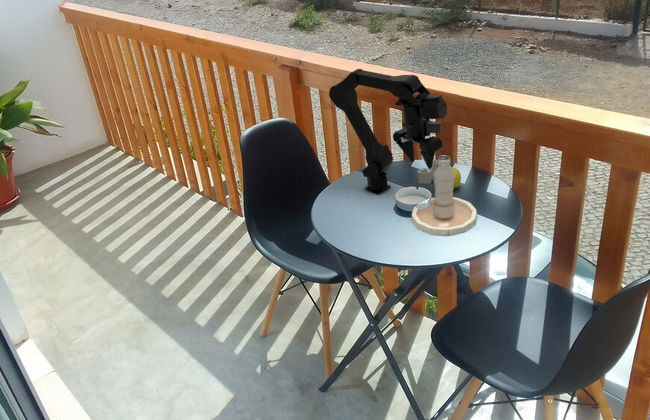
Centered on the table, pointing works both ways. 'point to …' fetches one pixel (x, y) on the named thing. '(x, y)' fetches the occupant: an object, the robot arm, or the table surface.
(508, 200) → the table surface
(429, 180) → the lighter
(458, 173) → the lemon
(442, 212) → the plastic bottle
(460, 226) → the round tray
